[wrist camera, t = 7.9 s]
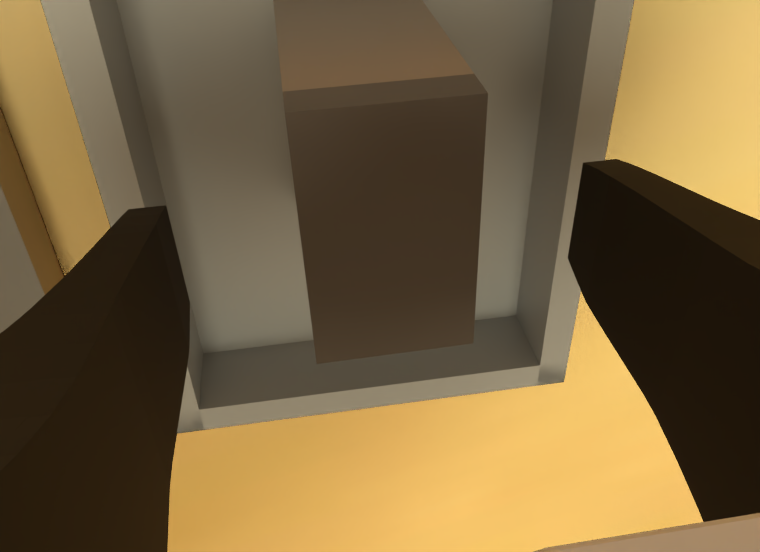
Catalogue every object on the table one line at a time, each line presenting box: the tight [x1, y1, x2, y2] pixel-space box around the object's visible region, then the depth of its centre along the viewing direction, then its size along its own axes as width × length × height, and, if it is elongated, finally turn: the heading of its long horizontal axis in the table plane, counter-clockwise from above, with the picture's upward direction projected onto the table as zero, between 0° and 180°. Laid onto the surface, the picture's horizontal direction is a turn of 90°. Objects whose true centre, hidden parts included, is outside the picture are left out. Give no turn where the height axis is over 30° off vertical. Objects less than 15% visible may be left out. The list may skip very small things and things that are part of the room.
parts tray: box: [40, 0, 634, 433], centre depth 16 cm, size 16×11×3 cm
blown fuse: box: [273, 0, 488, 364], centre depth 14 cm, size 5×3×6 cm, turn 2°
